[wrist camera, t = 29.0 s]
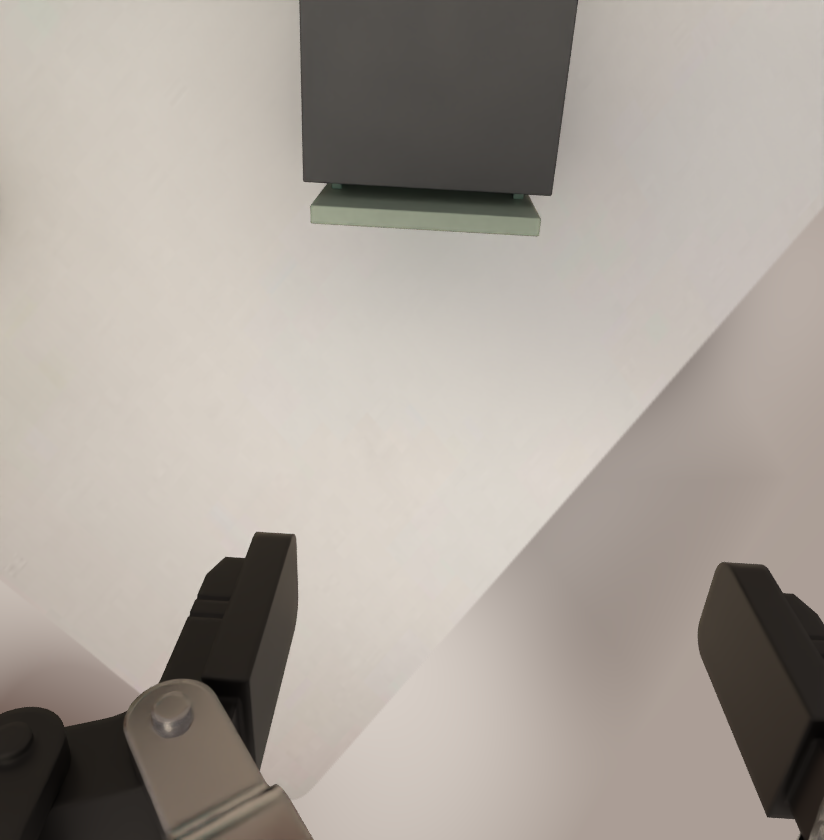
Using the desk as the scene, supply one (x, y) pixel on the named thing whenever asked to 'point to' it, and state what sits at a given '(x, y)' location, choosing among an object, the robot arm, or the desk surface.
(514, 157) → the housing
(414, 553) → the desk surface
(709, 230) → the desk surface
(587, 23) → the desk surface
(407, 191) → the sliding matchbox
